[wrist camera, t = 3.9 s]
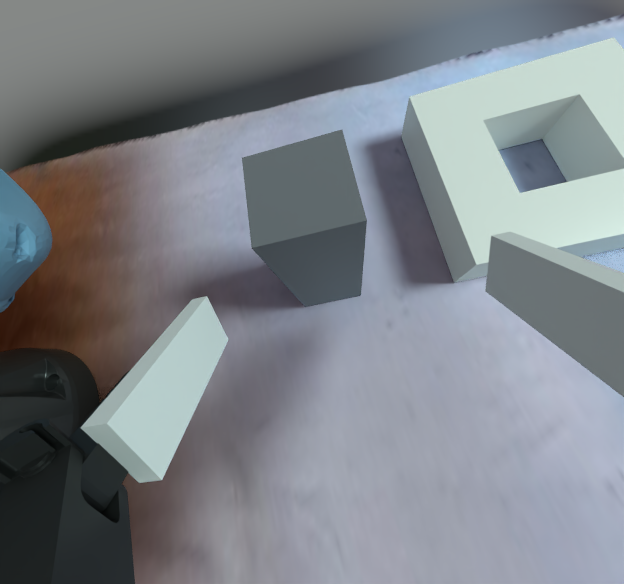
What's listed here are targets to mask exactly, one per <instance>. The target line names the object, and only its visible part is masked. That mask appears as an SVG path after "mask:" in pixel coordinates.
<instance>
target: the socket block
mask: <svg viewBox="0 0 624 584" xmlns="http://www.w3.org/2000/svg"><path fill="white" fill-rule="evenodd" d="M401 137H402V140H403V143H404V146H405V148H406V151H407V154H408V157H409V159H410V162H411V165H412V168H413V171H414V173H415V176H416V179H417V182H418V184H419V187H420V190H421V193H422V195H423V198H424V201H425V204H426V206H427V209H428V212H429V215H430V218H431V220H432V223H433V226H434V229H435V231H436V234H437V237H438V240H439V242H440V245H441V248H442V251H443V254H444V256H445V259H446V262H447V265H448V267H449V270H450V273H451V276H452V278H453V281H454V283H456V282H460V281H465V280H470V279H475V278H480V277H485V276H487V272H488V262H489V252H490V242H491V235H496V234H501V233H505V232H513V233H516V234H519V235H521V236H524V237H527V238H529V239H532V240H535V241H538V242H540V243H543V244H546V245H549V246H551V247H554V248H557V249H560V250H562V251H565V252H568V253H570V254H573V255H576V256H579V257H583V256H588V255H593V254H597V253H602V252H607V251H612V250H617V249H622V248H624V49H623V48H622V47H621V45H620V44H619V43H618V42H617V41H616V39H615V38H610V39H607V40H603V41H600V42H597V43H593V44H590V45H586V46H583V47H579V48H576V49H572V50H569V51H565V52H562V53H558V54H555V55H552V56H548V57H545V58H541V59H538V60H534V61H531V62H527V63H524V64H520V65H517V66H514V67H510V68H507V69H503V70H500V71H496V72H493V73H489V74H486V75H482V76H479V77H476V78H472V79H469V80H465V81H462V82H458V83H455V84H451V85H448V86H444V87H441V88H438V89H434V90H431V91H427V92H424V93H420V94H417V95H413V96H410V97H409V101H408V106H407V110H406V115H405V120H404V125H403V130H402V135H401ZM540 139H542V140H543V141H544V143H545V145H546V146H547V148H548V150H549V152H550V153H551V155H552V157H553V159H554V160H555V162H556V164H557V165H558V167H559V169H560V171H561V172H562V174H563V176H564V177H565V179H566V181H567V182H565V183H560V184H556V185H552V186H548V187H543V188H539V189H535V190H531V191H526V192H522V193H520V192H519V191H518V189H517V187H516V185H515V183H514V181H513V179H512V177H511V175H510V173H509V171H508V169H507V167H506V165H505V163H504V161H503V159H502V157H501V155H500V153H499V151H498V150H501V149H505V148H509V147H513V146H517V145H521V144H525V143H529V142H532V141H536V140H540Z"/></svg>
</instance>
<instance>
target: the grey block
mask: <svg viewBox="0 0 624 584" xmlns="http://www.w3.org/2000/svg"><path fill="white" fill-rule="evenodd" d="M242 162H243V171H244V180H245V190H246V199H247V208H248V218H249V227H250V236H251V246H252V249H253V250H254V251H255V252H256V253H257V254H258V255H259V257H260V258H261V259H262V260H263V261H264V262H265V263H266V264H267V265H268V267H269V268H270V269H271V270H272V271H273V272H274V273H275V274H276V275H277V277H278V278H279V279H280V280H281V281H282V282H283V283H284V284H285V285H286V286H287V288H288V289H289V290H290V291H291V292H292V293H293V294H294V295H295V296H296V298H297V299H298V300H299V301H300V302H301V303H302V304H303V305H304V306H305V307H307V306H312V305H317V304H322V303H326V302H331V301H336V300H341V299H346V298H350V297H355V296H360V295H361V286H362V274H363V261H364V248H365V235H366V223H367V220H366V216H365V212H364V209H363V205H362V201H361V198H360V194H359V190H358V187H357V183H356V179H355V176H354V172H353V168H352V164H351V161H350V157H349V153H348V150H347V146H346V142H345V139H344V135H343V131H342V130H339V131H335V132H332V133H328V134H325V135H321V136H318V137H314V138H311V139H307V140H304V141H300V142H297V143H293V144H290V145H286V146H283V147H279V148H275V149H272V150H268V151H265V152H261V153H258V154H254V155H251V156H247V157H244V158H242Z"/></svg>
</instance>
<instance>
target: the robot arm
mask: <svg viewBox="0 0 624 584" xmlns="http://www.w3.org/2000/svg"><path fill="white" fill-rule="evenodd" d="M51 246H52V234H51V230H50V226H49V224H48V222H47V220H46V218H45V216H44V215H43V213H42V212H41V210H40V209H39V208H38V206H37V205H36V204H35V202H34V201H33V200H32V199H31V198H30V197H29V196H28V194H27V193H26V192H25V191H24V190H23V189H22V188H21V187H20V186H19V185H18V184H17V183H16V182H14V181H13V180H12V179H11V178H10V177H9V176H8V175H7V174H6V173H5V172H4V171H3V170H1V169H0V313H1V312H3V311H4V310H5V309H6V308H7V307H8V306H9V305H10V304H11V302H12V301H13V300H14V298H15V292H16V291H17V290H18V289H19V288H20V287H21V286H22V284H23V283H24V282H25V281H26V280H27V279H28V278H29V277H30V275H31V274H32V273H33V272H34V271H35V270H36V269H37V268H38V267H39V266H40V265H41V264H42V263H43V261H44V260H45V259H46V258H47V256H48V254H49V252H50V250H51ZM486 292H487V293H489V294H490V295H491V296H492V297H494V298H495V299H496V300H498V301H499V302H500V303H502V304H503V305H504V306H506V307H507V308H508V309H509V310H511V311H512V312H513V313H515V314H516V315H517V316H519V317H520V318H521V319H522V320H524V321H525V322H526V323H528V324H529V325H530V326H532V327H533V328H534V329H536V330H537V331H538V332H539V333H541V334H542V335H543V336H545V337H546V338H547V339H549V340H550V341H551V342H552V343H554V344H555V345H556V346H558V347H559V348H560V349H562V350H563V351H564V352H566V353H567V354H568V355H569V356H571V357H572V358H573V359H575V360H576V361H577V362H579V363H580V364H581V365H582V366H584V367H585V368H586V369H588V370H589V371H590V372H592V373H593V374H594V375H596V376H597V377H598V378H599V379H601V380H602V381H603V382H605V383H606V384H607V385H609V386H610V387H611V388H612V389H614V390H615V391H616V392H618V393H619V394H620V395H622V396H623V397H624V273H622V272H620V271H617V270H614V269H611V268H609V267H606V266H603V265H601V264H598V263H595V262H592V261H590V260H587V259H584V258H581V257H579V256H576V255H573V254H570V253H568V252H565V251H562V250H560V249H557V248H554V247H551V246H549V245H546V244H543V243H540V242H538V241H535V240H532V239H529V238H527V237H524V236H521V235H519V234H516V233H513V232H505V233H501V234H496V235H491V242H490V252H489V262H488V272H487V281H486ZM227 342H228V338H227V336H226V334H225V332H224V330H223V328H222V326H221V324H220V322H219V320H218V318H217V316H216V314H215V311H214V309H213V307H212V305H211V303H210V301H209V299H208V297H207V296H205V297H200V298H196V299H192V300H191V301H190V303H189V304H188V305H187V306H186V307H185V308H184V309H183V311H182V312H181V313H180V314H179V315H178V316H177V317H176V319H175V320H174V321H173V322H172V323H171V324H170V325H169V327H168V328H167V329H166V330H165V331H164V332H163V334H162V335H161V336H160V337H159V338H158V339H157V340H156V342H155V343H154V344H153V345H152V346H151V347H150V348H149V350H148V351H147V352H146V353H145V354H144V355H143V356H142V358H141V359H140V360H139V361H138V362H137V363H136V365H135V366H134V367H133V368H132V369H131V370H130V371H128V372H127V373H126V374H125V375H124V376H123V377H122V378H121V379H120V381H119V382H118V383H117V384H116V385H115V388H113V389H112V390H111V391H110V392H109V393H108V394H107V395H106V398H105V399H103V400H102V401H101V402H100V403H99V396H98V390H97V387H96V383H95V381H94V378H93V376H92V374H91V372H90V371H89V369H88V368H87V366H86V365H85V364H84V363H83V362H82V361H81V360H80V359H79V358H78V357H76V356H75V355H73V354H71V353H69V352H67V351H63V350H58V349H41V348H22V349H14V350H8V351H3V352H0V584H135V579H134V567H133V555H132V543H131V531H130V519H129V507H128V495H127V491H126V488H125V487H124V486H123V485H122V482H123V480H124V479H125V477H126V475H127V474H128V473H129V474H130V475H131V476H132V477H133V478H134V479H136V480H137V481H138V482H139V483H143V482H151V481H159V480H162V479H163V477H164V475H165V473H166V471H167V468H168V466H169V464H170V462H171V460H172V458H173V456H174V454H175V452H176V449H177V447H178V445H179V443H180V441H181V439H182V437H183V435H184V433H185V430H186V428H187V426H188V424H189V422H190V420H191V418H192V416H193V414H194V411H195V409H196V407H197V405H198V403H199V401H200V399H201V397H202V395H203V393H204V390H205V388H206V386H207V384H208V382H209V380H210V378H211V376H212V374H213V371H214V369H215V367H216V365H217V363H218V361H219V359H220V357H221V355H222V352H223V350H224V348H225V346H226V344H227Z"/></svg>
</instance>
